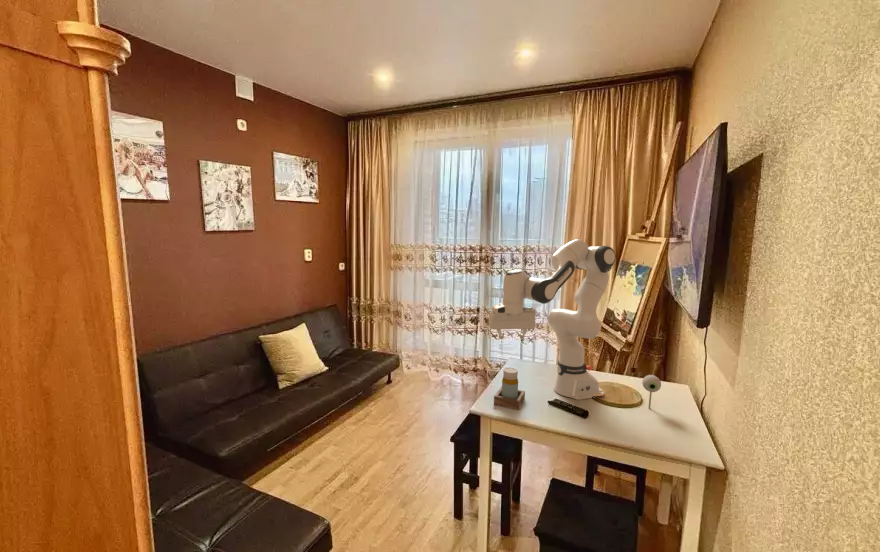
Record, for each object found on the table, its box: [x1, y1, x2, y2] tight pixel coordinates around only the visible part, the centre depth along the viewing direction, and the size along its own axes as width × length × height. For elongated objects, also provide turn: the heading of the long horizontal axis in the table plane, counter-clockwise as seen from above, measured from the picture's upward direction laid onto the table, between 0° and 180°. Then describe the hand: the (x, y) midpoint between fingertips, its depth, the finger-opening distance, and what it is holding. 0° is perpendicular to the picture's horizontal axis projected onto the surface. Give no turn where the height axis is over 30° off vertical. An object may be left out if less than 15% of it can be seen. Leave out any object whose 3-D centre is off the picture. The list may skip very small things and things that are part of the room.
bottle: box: [501, 367, 519, 400], centre depth 169 cm, size 7×7×15 cm
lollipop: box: [641, 374, 662, 410], centre depth 164 cm, size 7×7×15 cm
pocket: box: [493, 386, 526, 411], centre depth 170 cm, size 11×11×4 cm
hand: (511, 338), depth 166 cm, fingers open, 8 cm apart
